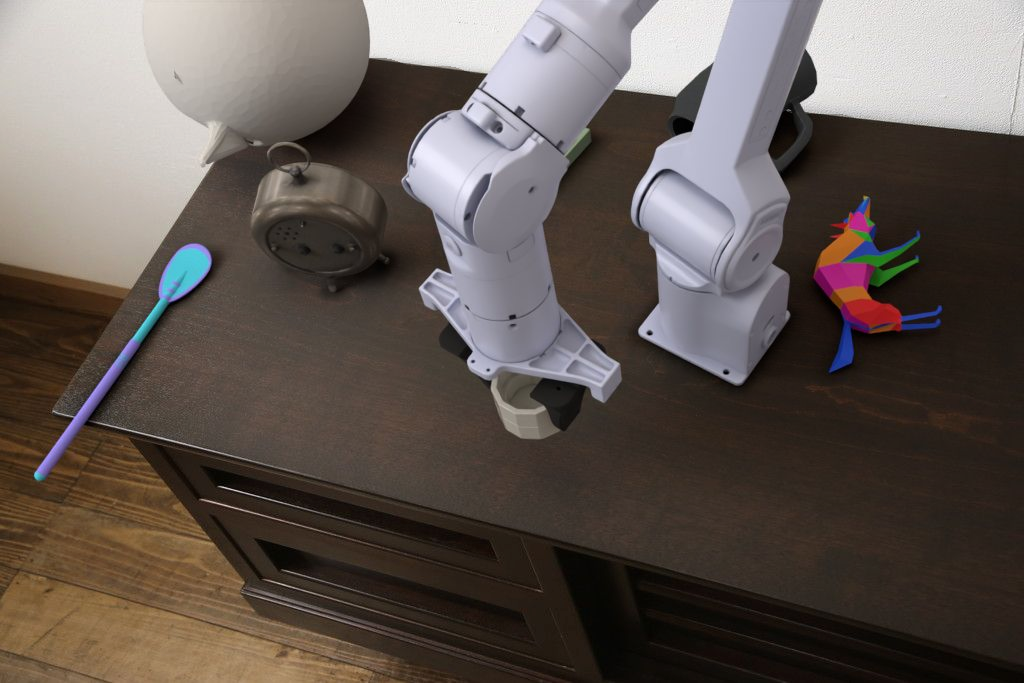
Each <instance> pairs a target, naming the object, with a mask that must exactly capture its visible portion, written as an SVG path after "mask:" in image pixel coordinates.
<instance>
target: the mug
mask: <svg viewBox="0 0 1024 683" xmlns="http://www.w3.org/2000/svg"><path fill="white" fill-rule="evenodd" d="M713 63H714V61H713V62H712V63H710V64H709V65H708V66H707V67H705V68H704V69H702V70H701V71H700V72H699V73H698V74H697V75H695V77H694V78H692V79H691V81H689V83H688V84H687V85H685V86H684V87H683V88H682V89H681V90H680V91H679V92H678V94H677V95H676V96H675V102H674V106H673V111H672V112H671V113H670V114H669V116H668V120H667V128H668V132H669V134H670V136H671V137H670V138H673V137H675V136H678V135H680V134H684V133H688V132H692V130H693V127H694V124H695V121H696V117H697V114H698V111H699V108H700V105H701V102H702V98H703V95H704V92H705V89H706V86H707V82H708V79H709V76H710V73H711V70H712V67H713ZM817 73H818V72H817V69H816V66H815V64H814V60H813V58H812V56H811V55H810V53H809V52H808V50H807V48H805V51H804V54H803V56H802V59H801V62H800V64H799V67H798V70H797V72H796V75H795V78H794V81H793V83H792V86H791V89H790V91H789V94H788V97H787V100H786V102H785V105H784V108H783V110H782V113H783V112H786V111H790V112H791V114H792V116H793V123H794V125H795V128H796V130H797V133H798V135H797V137H796V139H795V142H794V143H793V144H792V145H791V146H790V147H789V148H788V149H787V150H786V151H785V152H784V153H783V154H782V155H781V156H779V157H778V158H777V159H775V158H773V157H772V156H771V155H770V158H771V160H772V162H773V164H774V166H775V167H776V169H777V171H778V173H779V175H781V174H782V173H783V172H784V171H785V170H786V169H787V168H788V166H789V165H790V164H792V162H793V161H795V159H796V158H797V156H798V155H799V154H801V153H800V152H802V151H803V149H804V148H805V146H806V145H807V144H808V142H809V141H810V139H811V137H812V133H813V127H814V124H813V120H812V119H811V118H810V116H809V114H807V112H806V111H805V109H804V108H803V106H802V104H801V103H802V102H804V101H806V100H807V99H809V98H810V97H811V96H812V95H813V94H815V92H816V88H817V86H818V74H817Z"/></svg>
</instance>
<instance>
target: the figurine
mask: <svg viewBox="0 0 1024 683" xmlns="http://www.w3.org/2000/svg"><path fill="white" fill-rule="evenodd" d="M862 198H863V200H862V202H861V203H860V204H859V205H858V207H857V209H856V210H855V212H852V211H850V212H849V214H848V217H847V218H844V219H843V222H842V223H834V224H833V223H832V224H830V226H832V227H836V228H840V229H843V233H840V234H834V235H831V236H830V238H834V239H835V238H836V239H835V240H834V241H833V242H832V243H830V244H829V245H828V246H827V247H825V249H823V250H822V251H821V252H820V255H819V256H818V258H817V261H816V264H815V268H814V273H813V279H814V281H815V283H816V284H818V286H819V287H820V288H821V290H822V291H823V292H824V293H825V294H826V296H827V297H828V298H829V299H830V300H831V301H832V303H833V304H834V305H835V306H837V308H838V309H839V310H840V314H841V316H842V320H843V327H842V331H841V332H842V333H841V335H840V340H839V345H838V348H837V349H838V350H837V353H836V355H835V357H834V359H833V361H832V364H831V366H830V369H829V371H828V374H830V373H832V372H834V371H837V370H839V369H841V368H843V367H846V366H847V365H850V364H852V363H853V360H854V354H855V352H854V344H853V338H852V331H851V330H855V331H859V332H862V333H866V334H875V333H882V332H891V331H896V332H900V331H906V330H919V329H921V330H923V329H934V328H937V327H939V326H940V325H941V320H940V318H937V319H936V320H935V321H934V322H933V323H907V324H904V323H902V322H907V321H912V320H918V319H923V318H927V317H928V318H929V317H933V316H938V314H941V313H942V310H943V309H942V305H938V306H937V308H936V310H934V311H929V312H921V313H915V314H909V315H902V313H901V311H900V310H899V309H898V308H896V307H895V306H893V305H892V304H891V303H881V302H879V301H877V300H874V299H872V296H870V293H868V290H869V285H871V286H875V287H877V288H878V287H880V286H882V285H883V284H884V283H886V282H887V281H889V280H890V279H892V278H894V276H896V275H897V274H899V273H900V272H902V271H904V270H905V269H908V268H909V267H911V266H913V265H915V264H916V263H919V262H920V259H919V255H914V257H915V259H913V260H910V261H907V262H905V263H902V264H900V265H897V266H894V267H892V268H889V269H885V270H882V269H881V268H880V267H882V266H883V265H886V264H887V263H888V262H890V261H892V260H893V259H895V258H896V257H898V256H900V255H902V254H903V253H904V252H905V251H907V250H908V249H909V248H910V247H911V246H913V245H914V244H915V243H917V242H918V241H919V240H920V238H921V234H920V231H919V230H917V231H916V236H914V237H913V238H911V239H910V240H908V241H906V242H905V243H903V244H901V245H900V246H896V247H893V248H890V249H887V250H883V251H880V250H878V249H877V247H876V246H875V243H874V239H875V236H876V233H877V226H876V223H874V222H873V221H872V220H871V219H870V213H871V212H870V211H871V198H870V197H869V196H866V195H863V196H862Z"/></svg>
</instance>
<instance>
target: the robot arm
mask: <svg viewBox="0 0 1024 683" xmlns="http://www.w3.org/2000/svg"><path fill="white" fill-rule="evenodd" d="M659 1H660V0H541V2H540V3H539V4H538V6H537V7H536V8H535V10H534V11H533V12H532V14H531V15H530V16H529V17H528V19H527V20H526V21H525V23H524V24H523V26H522V27H521V29H520V30H519V32H518V33H517V34H516V35H515V37H514V38H513V40H511V42H510V44H509V45H508V46H507V48H506V49H505V50H504V52H503V53H502V55H500V57H499V59H498V60H497V61H496V62H495V64H494V65H493V66H492V68H491V70H490V71H489V72H488V73H487V75H486V76H485V77H484V78H483V80H482V81H481V83H480V84H479V85H478V87H477V88H476V89H475V91H473V93H472V95H471V96H470V97H469V98H468V100H467V101H466V102H465V104H464V105H463V107H462V108H461V109H458V110H456V109H455V110H453V109H452V110H448V111H445V112H443V113H440V114H438V115H436V116H435V117H434V118H433V119H430V120H429V121H428V122H427V123H426V124H425V125H424V126H423V127H422V128H421V130H420V131H419V132H418V133H417V135H416V136H415V138H414V140H413V142H412V144H411V147H410V149H409V152H408V157H407V172H406V174H405V175H404V176H403V178H402V179H401V185H402V187H403V189H404V190H405V192H406V193H407V194H408V195H409V196H410V197H411V198H413V199H414V200H415V201H417V202H418V203H421V204H424V205H425V206H427V207H428V208H430V210H431V211H432V213H433V217H434V221H435V223H436V228H437V230H438V233H439V237H440V239H441V243H442V247H443V251H444V254H445V256H446V257H445V258H446V261H447V263H448V266H449V269H450V270H449V271H450V272H451V273H450V272H446V271H444V270H442V269H440V268H435V270H433V272H432V273H431V274H430V275H429V276H428V277H427V279H426V280H425V281H424V282H423V283H422V284H421V285H420V286H419V287H418V291H419V293H420V296H421V299H422V302H423V305H424V307H426V308H428V309H430V310H432V311H440V312H441V314H443V316H444V317H445V318H446V320H447V325H445V327H444V328H443V329H442V330H441V332H440V333H439V335H438V343H439V346H440V348H441V349H443V350H445V351H447V352H448V353H450V354H452V355H454V356H456V357H457V358H458V359H459V358H460V360H462V361H463V362H464V363H465V365H467V367H468V370H469V371H470V372H471V373H473V374H475V375H476V377H477V378H478V379H479V380H480V381H481V382H482V383H483V385H485V387H486V388H488V390H490V391H491V384H492V380H494V379H495V378H496V377H497V376H498V375H499V374H500V373H501V372H503V371H508V372H514V373H520V374H526V375H531V376H537V377H543V378H542V379H541V380H540V382H539V383H538V384H537V385H536V387H535V388H534V389H533V390H532V392H531V393H530V398H532V399H534V400H536V401H537V402H539V403H541V404H543V405H544V407H545V408H546V409H547V411H548V414H549V416H550V419H551V422H552V424H553V425H554V426H555V427H556V428H558V429H560V431H562V432H566V431H567V430H568V428H569V427H570V426H571V424H572V423H573V422H574V420H576V418H577V417H578V416H579V414H580V413H581V409H582V403H583V400H584V396H585V393H586V390H587V388H589V390H590V393H591V397H592V398H594V399H595V400H597V401H599V402H601V403H603V404H605V403H606V402H607V401H608V399H609V398H610V397H611V395H612V394H613V393H614V392H615V391H616V390H617V388H618V387H619V385H620V383H621V382H622V381H623V378H622V370H621V363H619V362H618V361H616V360H615V359H613V358H611V357H610V356H608V354H607V350H606V347H605V346H604V344H602V343H600V342H599V341H597V340H595V339H593V338H591V337H589V336H588V335H587V333H585V331H584V330H583V329H582V328H581V327H580V326H579V324H577V322H576V321H575V320H574V319H573V318H572V317H571V316H570V315H569V314H568V313H567V311H565V309H564V308H563V307H562V306H561V305H560V304H559V302H558V298H557V293H556V289H555V282H554V277H553V273H552V268H551V262H550V257H549V252H548V247H547V242H546V236H545V232H544V230H545V229H544V225H543V223H544V222H545V220H547V218H548V217H549V214H550V213H551V210H552V209H553V206H554V204H555V202H556V199H557V196H558V192H559V187H560V184H561V180H562V178H563V177H564V175H565V174H566V173H567V171H568V168H567V166H568V164H569V162H570V161H569V160H568V159H567V158H566V157H565V156H564V155H565V154H566V152H567V151H568V150H569V148H570V147H571V146H572V144H573V143H574V142H575V140H576V139H577V138H578V137H579V135H580V134H581V133H582V131H583V130H584V129H585V128H587V126H588V125H589V123H590V122H591V121H592V120H593V118H594V117H595V116H596V114H597V113H598V112H599V110H600V109H601V108H602V106H603V105H604V104H605V102H606V101H607V100H608V98H609V97H610V96H611V95H612V94H613V92H614V91H615V90H616V88H617V87H618V86H619V84H620V82H621V81H622V80H623V79H624V77H625V76H626V75H627V74H628V72H629V71H630V70H631V67H632V32H633V30H634V29H635V28H636V27H637V26H638V24H640V23H641V21H643V19H644V18H645V17H646V16H647V14H648V13H649V12H651V10H652V9H653V8H654V6H656V5H657V4H658V2H659ZM823 2H824V0H732V3H731V6H730V10H729V13H728V16H727V19H726V22H725V25H724V29H723V32H722V35H721V37H720V41H719V44H718V48H717V51H716V54H715V57H714V60H713V62H714V63H713V62H712V63H713V67H712V70H711V73H710V76H709V79H708V82H707V86H706V89H705V92H704V95H703V98H702V102H701V105H700V108H699V111H698V114H697V117H696V121H695V124H694V127H693V130H692V132H688V133H684V134H680V135H678V136H675V137H673V138H672V137H670V139H669V138H668V140H666V141H664V142H662V144H660V145H659V146H657V148H656V149H655V152H654V154H653V158H652V161H651V162H650V165H649V167H648V169H647V170H646V173H645V174H644V175H643V177H642V178H641V180H640V181H639V183H638V185H637V186H636V189H635V191H634V193H633V197H632V201H631V209H630V217H631V221H632V224H633V225H634V226H635V227H636V228H637V229H639V230H641V231H642V232H646V233H648V239H649V240H648V241H649V245H650V246H651V247H652V248H653V249H654V252H655V256H656V271H657V288H658V303H657V305H656V306H655V308H653V310H651V312H650V314H649V315H648V316H647V318H645V320H644V321H643V322H642V324H641V325H640V326H639V328H638V330H637V331H638V336H639V337H641V338H642V339H644V340H646V341H648V342H650V343H652V344H654V345H656V346H658V347H660V348H662V349H664V350H666V351H667V352H669V353H671V354H673V355H675V356H677V357H679V358H681V359H683V360H685V361H687V362H689V363H690V364H693V365H695V366H696V367H699V368H701V369H703V370H705V371H706V372H708V373H709V374H712V375H714V376H717V377H718V378H720V379H722V380H724V381H726V382H728V383H729V384H732V385H733V386H742V385H743V384H744V383H745V382H746V380H747V379H748V377H749V376H750V374H751V373H752V372H753V371H754V369H755V367H756V366H757V365H758V364H759V362H760V360H761V359H762V358H763V356H764V355H765V354H766V352H767V351H768V349H769V348H770V347H771V345H773V343H774V341H775V340H776V339H777V337H778V336H779V334H780V333H781V331H782V330H783V329H784V327H785V326H786V324H787V323H788V321H789V320H790V318H791V313H790V311H789V310H788V301H789V292H790V283H791V280H790V279H791V278H790V275H789V273H788V272H786V271H785V270H783V269H782V268H780V267H779V266H776V265H775V264H774V263H773V262H774V261H775V259H776V257H777V255H778V253H779V251H780V249H781V246H782V243H783V237H784V233H783V231H784V220H785V216H786V213H787V209H788V205H789V203H790V201H791V196H790V193H789V190H788V188H787V186H786V184H785V182H784V181H783V179H782V177H781V174H779V173H778V171H777V169H776V167H775V166H774V164H773V162H772V160H771V158H770V156H771V155H770V153H769V148H770V145H771V143H772V140H773V137H774V134H775V132H776V129H777V126H778V124H779V121H780V118H781V115H782V113H783V112H782V110H783V108H784V105H785V102H786V100H787V97H788V94H789V91H790V89H791V86H792V83H793V81H794V78H795V75H796V72H797V70H798V67H799V64H800V62H801V59H802V56H803V54H804V51H805V49H807V45H808V42H809V40H810V37H811V35H812V31H813V29H814V27H815V25H816V21H817V18H818V17H819V16H818V15H819V13H820V10H821V8H822V5H823ZM562 154H563V155H562ZM649 334H650V335H649ZM726 373H728V374H726Z"/></svg>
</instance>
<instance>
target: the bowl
mask: <svg viewBox="0 0 1024 683" xmlns="http://www.w3.org/2000/svg"><path fill="white" fill-rule="evenodd" d="M542 378H543V377H537V376H531V375H526V374H520V373H514V372H508V371H503V372H501V373H500V374H499V375H498V376H497V377H496V378H495V379H494V380H492V384H491V390H490V391H491V394H492V398H493V400H494V405H495V407H496V410H497V414H498V417H499V418H500V420H501V422H502V424H503V426H504V428H505V430H506V431H508V432H509V433H511V434H513V435H514V436H516V437H518V438H519V439H523V440H543V439H546V438H548V437H550V436H552V435H555V434H557V433H559V432H560V431H561V430H560V429H558V428H556V427H555V426H554V425H553V424H552V422H551V419H550V416H549V414H548V411H547V409H546V408H545V407H544V405H543V404H541V403H539V402H537V401H536V400H534V399H532V398H530V393H531V392H532V390H533V389H534V388H535V387H536V385H537V384H538V383H539V382H540V380H541V379H542Z"/></svg>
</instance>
